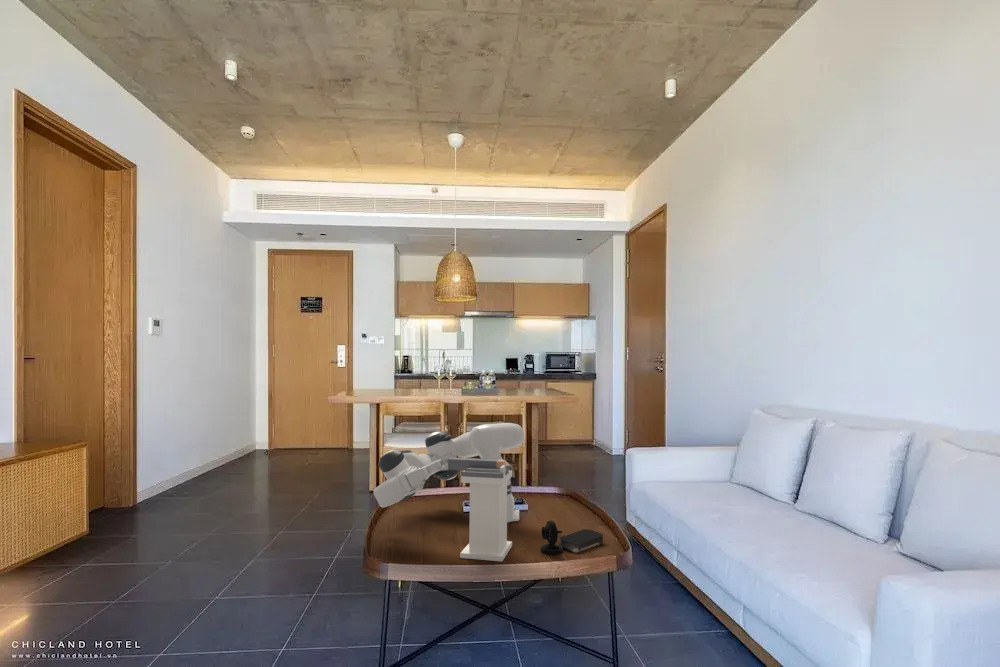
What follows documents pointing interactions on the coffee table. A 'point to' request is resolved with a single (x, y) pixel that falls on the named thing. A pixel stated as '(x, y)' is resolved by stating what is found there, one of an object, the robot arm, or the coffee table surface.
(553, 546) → the webcam
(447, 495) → the coffee table surface
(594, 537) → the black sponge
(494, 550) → the tester stand
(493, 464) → the long grey square bar
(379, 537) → the coffee table surface
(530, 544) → the coffee table surface
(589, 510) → the coffee table surface
